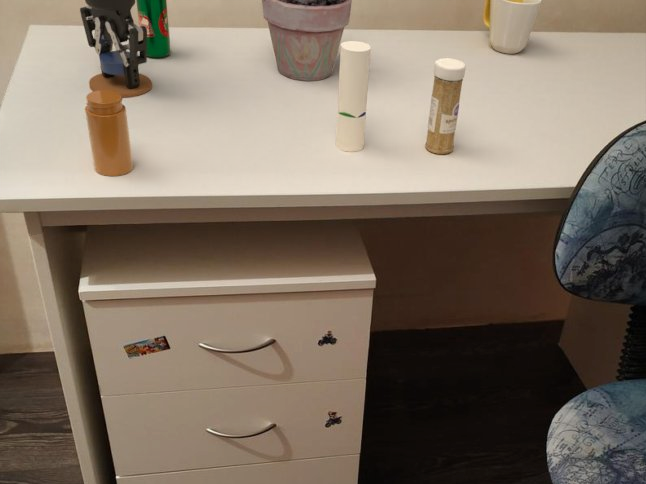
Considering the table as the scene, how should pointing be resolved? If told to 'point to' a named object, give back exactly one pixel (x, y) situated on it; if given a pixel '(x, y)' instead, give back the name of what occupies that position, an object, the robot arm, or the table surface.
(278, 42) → the potted plant
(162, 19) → the soda can
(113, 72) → the jar lid
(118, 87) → the coaster
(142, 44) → the robot arm
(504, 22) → the mug
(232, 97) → the table surface
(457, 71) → the sprinkles bottle
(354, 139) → the tube
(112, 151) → the jar
